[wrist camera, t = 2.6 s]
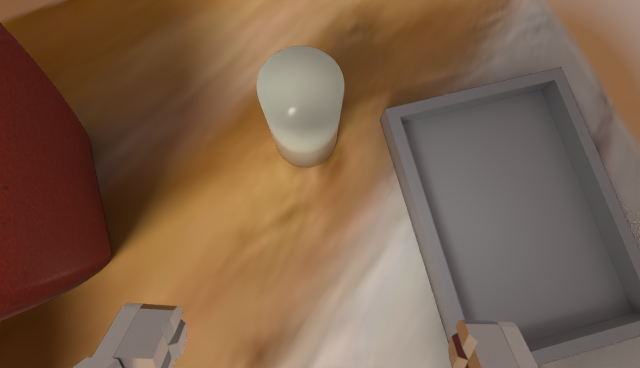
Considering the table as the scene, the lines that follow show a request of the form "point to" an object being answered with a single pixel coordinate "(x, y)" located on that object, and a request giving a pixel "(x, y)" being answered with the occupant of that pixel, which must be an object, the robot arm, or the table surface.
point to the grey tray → (518, 214)
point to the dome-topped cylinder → (302, 103)
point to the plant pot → (43, 189)
